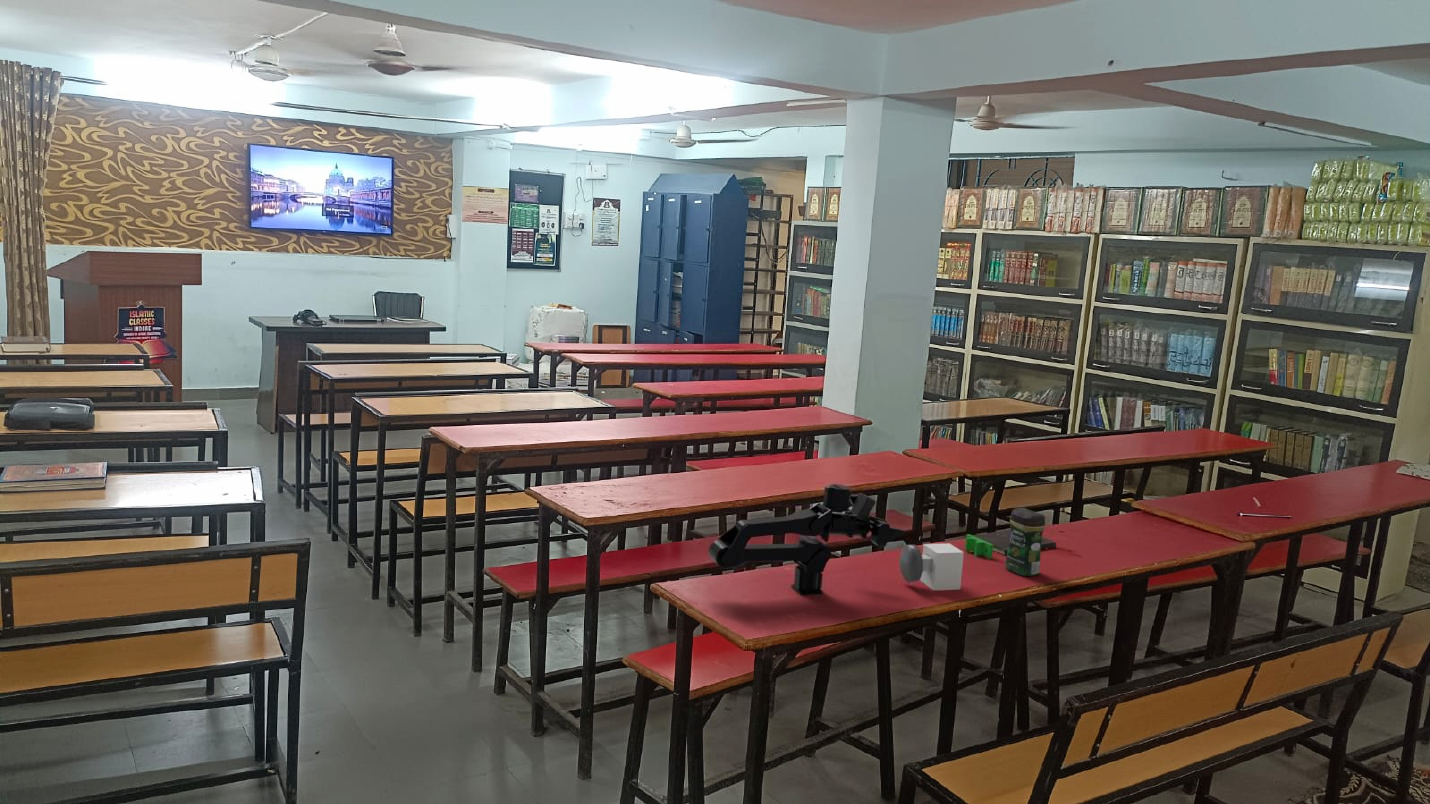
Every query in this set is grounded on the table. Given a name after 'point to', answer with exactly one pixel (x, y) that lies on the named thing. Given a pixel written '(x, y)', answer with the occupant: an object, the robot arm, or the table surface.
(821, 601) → the table surface
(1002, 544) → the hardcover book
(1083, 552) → the table surface
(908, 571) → the knob
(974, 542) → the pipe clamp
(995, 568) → the table surface
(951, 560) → the block
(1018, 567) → the coffee jar
